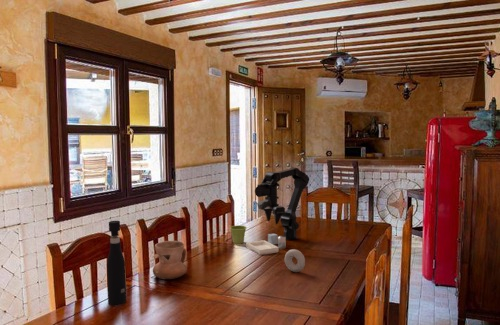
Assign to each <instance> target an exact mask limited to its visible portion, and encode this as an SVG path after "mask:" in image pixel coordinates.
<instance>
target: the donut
mask: <svg viewBox="0 0 500 325" xmlns="http://www.w3.org/2000/svg"><path fill="white" fill-rule="evenodd" d="M293 258H295V259H296V261H297V263H294V262H293ZM284 264H285V267H287V269H288V270H289V271H291V272H294V273H298V272H301V271H302V270H304V268H305V265H306V258H305V255H304V254H303V253H302V252H301V251H300V250H298V249H295V248H293V249H289V250H288V251H287V252H286V253H285V255H284Z"/></svg>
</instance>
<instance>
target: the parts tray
mask: <svg viewBox="0 0 500 325" xmlns="http://www.w3.org/2000/svg"><path fill="white" fill-rule="evenodd" d="M245 248H247V249H248V250H250V251H252V252H254V253H255V254H257V255H259V256H262V255H270V254H275V253H279V250H280V249H279V247H278V245H276V244H271V243H269V242H268V240H265V239H264V240H256V241H255V240H254V241H250V242H249V241H248V242H246V243H245Z"/></svg>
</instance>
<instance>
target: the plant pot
mask: <svg viewBox="0 0 500 325" xmlns="http://www.w3.org/2000/svg"><path fill="white" fill-rule="evenodd" d="M229 229H230V231H231V238H232V243H233V244H235V245H237V244H238V245H239V244H244V243H245V242H244V241H245V236H246V235H245V234H246V230H247V226H245V225H232V226H230V227H229Z"/></svg>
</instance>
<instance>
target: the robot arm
mask: <svg viewBox="0 0 500 325" xmlns="http://www.w3.org/2000/svg"><path fill="white" fill-rule="evenodd" d="M264 174H265V175H264V177H263V179H262V181H261V183H258V184H256V185H257V186H256V187H255V190H254V194H255V196H256V197H257V198H261V197H264V200H261V201H258V202H257V203H256V205H257V208H258V210H261V211H263V212H264V214H265V217H266V221H267V222H270V221H271V217H272V215H274V216H273V217H274V222H275V223H274V224H275V225H278V224H279V222H280V223H281V227H282V228H283V229H284V230H283V236H285V237H286V240H287V241H291V240H298V239H299V238H298V237H297V230H298V229H299V227H300V224H299V222H298V221H297V214H296V212H297V210H298V206H299V203H300V200H301V198H302V197H301V196H302V193H303V190H304V189H305V188H307V186H308V184H309V183H310V177H309V175H308V174H306V173H305V172H303V171H302V170H300V168H298V167H292V166H291V167H290V168H287V169H283V170H280V171H267V172H266V173H264ZM289 177H291V178H292V179H293V180H294V181H293V184H294V188H293V192H292V195H291V198H290V200H289V204H288V206H287V209H286V208H285V206H282V205H280V204H279V203H278V199H279V198H280V196H278V187H280V186H281V185H280V184H279V183H278V182H280V181H281V180H282V179H286V178H289ZM279 200H280V199H279Z"/></svg>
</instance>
